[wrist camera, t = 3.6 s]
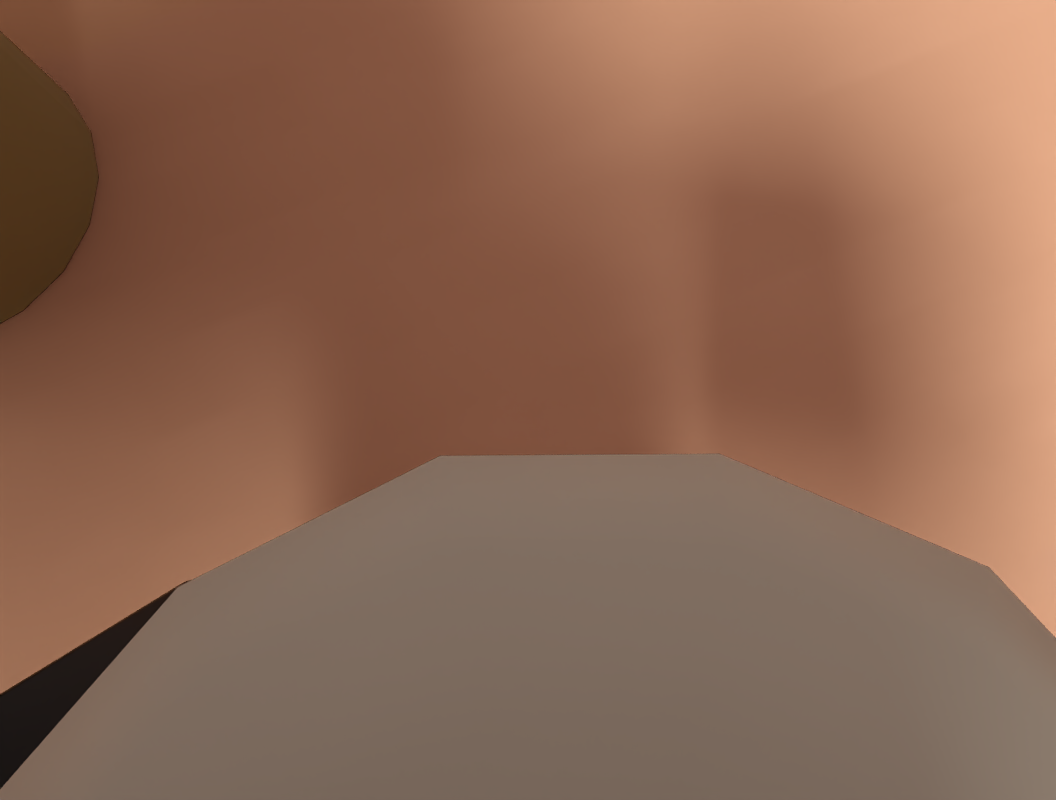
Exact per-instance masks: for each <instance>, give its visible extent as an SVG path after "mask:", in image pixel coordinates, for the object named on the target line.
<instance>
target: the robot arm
mask: <svg viewBox="0 0 1056 800" xmlns="http://www.w3.org/2000/svg"><path fill="white" fill-rule="evenodd" d="M189 581H191V580H189ZM189 581H186V582H184V583H182V584H180V585H178V586H177V587H179V586H181V585H183V584H185V583H187V582H189ZM177 587H175V588H173V589H172V590H170V591H168V592H167V593H165V594H164V595H162V596H160V597H159V598H157V599H155V600H154V601H152V602H150V603H149V604H147V605H146V606H144V607H142V608H141V609H139V610H137V611H136V612H134V613H132V614H131V615H129V616H128V617H126V618H124V619H123V620H121V621H119V622H118V623H116V624H114V625H113V626H111V627H109V628H108V629H106V630H105V631H103V632H101V633H100V634H98V635H96V636H95V637H93V638H91V639H90V640H88V641H87V642H85V643H83V644H82V645H80V646H78V647H77V648H75V649H73V650H72V651H70V652H69V653H67V654H65V655H64V656H62V657H60V658H59V659H57V660H55V661H54V662H52V663H50V664H49V665H47V666H46V667H44V668H42V669H41V670H39V671H37V672H36V673H34V674H32V675H31V676H29V677H28V678H26V679H24V680H23V681H21V682H19V683H18V684H16V685H14V686H13V687H11V688H10V689H8V690H6V691H5V692H3V693H1V694H0V789H1V788H2V787H3V786H4V785H5V783H6V782H7V781H8V780H9V779H10V778H11V777H12V775H13V774H14V773H15V772H16V771H17V770H18V769H19V767H20V766H21V765H22V764H23V763H24V762H25V761H26V759H27V758H28V757H29V756H30V755H31V754H32V753H33V751H34V750H35V749H36V748H37V747H38V746H39V745H40V744H41V742H42V741H43V740H44V739H45V738H46V737H47V736H48V734H49V733H50V732H51V731H52V730H53V729H54V728H55V726H56V725H57V724H58V723H59V722H60V721H61V720H62V718H63V717H64V716H65V715H66V714H67V713H68V712H69V710H70V709H71V708H72V707H73V706H74V705H75V704H76V702H77V701H78V700H79V699H80V698H81V697H82V696H83V695H84V693H85V692H86V691H87V690H88V689H89V688H90V687H91V685H92V684H93V683H94V682H95V681H96V680H97V679H98V677H99V676H100V675H101V674H102V673H103V672H104V671H105V669H106V668H107V667H108V666H109V665H110V664H111V663H112V661H113V660H114V659H115V658H116V657H117V656H118V655H119V653H120V652H121V651H122V650H123V649H124V648H125V647H126V646H127V644H128V643H129V642H130V641H131V640H132V639H133V638H134V636H135V635H136V634H137V633H138V632H139V631H140V630H141V628H142V627H143V626H144V625H145V624H146V623H147V622H148V620H149V619H150V618H151V617H152V616H153V615H154V614H155V612H156V611H157V610H158V609H159V608H160V607H161V606H162V604H163V603H164V602H165V601H166V600H167V599H168V598H169V597H170V595H171V594H172V593H173V592H174V591H175V590H176V589H177Z"/></svg>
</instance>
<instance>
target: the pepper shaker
mask: <svg viewBox="0 0 1056 800" xmlns="http://www.w3.org/2000/svg"><path fill="white" fill-rule="evenodd" d="M98 178H99V177H98V171H97V165H96V159H95V153H94V147H93V141H92V135H91V132H90V130H89V128H88V127H87V125H86V123H85V122H84V120H83V118H82V117H81V115H80V113H79V112H78V110H77V108H76V107H75V105H74V104H73V102H72V100H71V99H70V97H69V95H68V94H67V93H66V92H65V91H64V90H63V89H62V88H60V87H59V86H58V85H57V84H56V83H55V82H54V81H53V80H52V79H51V78H50V77H49V76H48V75H47V74H46V73H44V72H43V71H42V70H41V69H40V68H39V67H38V66H37V65H36V64H35V63H34V62H33V61H32V60H31V59H30V58H28V57H27V56H26V55H25V54H24V53H23V52H22V51H21V50H20V49H19V48H18V47H17V46H16V45H15V44H14V43H12V42H11V41H10V40H9V39H8V38H7V37H6V36H5V35H4V34H3V33H2V32H1V31H0V323H1V322H3V321H5V320H7V319H9V318H10V317H12V316H14V315H16V314H18V313H19V312H21V311H23V310H24V309H25V308H26V307H27V306H28V305H29V304H30V303H31V302H32V301H33V300H34V299H35V298H36V297H37V296H38V295H39V294H40V293H41V292H43V291H44V290H45V289H46V288H47V287H48V286H49V285H50V284H51V283H52V282H53V281H54V280H55V279H56V278H57V277H58V276H59V275H60V274H61V273H62V272H63V271H64V269H65V267H66V266H67V264H68V262H69V260H70V259H71V257H72V255H73V253H74V251H75V250H76V248H77V246H78V244H79V242H80V241H81V239H82V237H83V235H84V234H85V232H86V230H87V228H88V226H89V224H90V219H91V214H92V209H93V203H94V198H95V193H96V188H97V183H98Z"/></svg>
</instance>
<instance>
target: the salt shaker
mask: <svg viewBox="0 0 1056 800" xmlns="http://www.w3.org/2000/svg"><path fill="white" fill-rule="evenodd" d="M0 800H1056V638H1055V637H1054V636H1053V635H1052V634H1051V633H1050V632H1049V630H1048V629H1047V628H1046V627H1045V626H1044V625H1043V624H1042V623H1041V622H1040V621H1039V620H1038V619H1037V618H1036V617H1035V616H1034V615H1033V613H1032V612H1031V611H1030V610H1029V609H1028V608H1027V607H1026V606H1025V605H1024V604H1023V603H1022V602H1021V601H1020V600H1019V599H1018V597H1017V596H1016V595H1015V594H1014V593H1013V592H1012V591H1011V590H1010V589H1009V588H1008V587H1007V586H1006V585H1005V584H1004V583H1003V582H1002V580H1001V579H1000V578H999V577H998V576H997V575H996V574H995V573H994V572H993V571H992V570H991V569H990V568H989V567H987V566H985V565H982V564H980V563H978V562H975V561H973V560H971V559H968V558H966V557H964V556H961V555H959V554H956V553H954V552H952V551H949V550H947V549H945V548H942V547H940V546H937V545H935V544H933V543H930V542H928V541H926V540H923V539H921V538H918V537H916V536H914V535H911V534H909V533H907V532H904V531H902V530H899V529H897V528H895V527H892V526H890V525H888V524H885V523H883V522H880V521H878V520H876V519H873V518H871V517H869V516H866V515H864V514H861V513H859V512H857V511H854V510H852V509H850V508H847V507H845V506H842V505H840V504H838V503H835V502H833V501H831V500H828V499H826V498H823V497H821V496H819V495H816V494H814V493H812V492H809V491H807V490H804V489H802V488H800V487H797V486H795V485H793V484H790V483H788V482H786V481H783V480H781V479H778V478H776V477H774V476H771V475H769V474H767V473H764V472H762V471H759V470H757V469H755V468H752V467H750V466H748V465H745V464H743V463H740V462H738V461H736V460H733V459H731V458H729V457H726V456H724V455H721V454H608V455H473V456H439V457H437V458H435V459H433V460H431V461H429V462H427V463H425V464H423V465H421V466H419V467H417V468H415V469H413V470H411V471H409V472H407V473H405V474H403V475H401V476H399V477H397V478H395V479H393V480H391V481H389V482H387V483H385V484H383V485H381V486H379V487H377V488H375V489H373V490H371V491H369V492H367V493H365V494H363V495H361V496H359V497H357V498H355V499H353V500H351V501H349V502H347V503H345V504H343V505H341V506H339V507H337V508H335V509H333V510H331V511H329V512H327V513H325V514H323V515H321V516H319V517H317V518H315V519H313V520H311V521H309V522H307V523H305V524H303V525H301V526H299V527H297V528H295V529H293V530H291V531H289V532H287V533H285V534H283V535H281V536H279V537H277V538H275V539H273V540H271V541H269V542H267V543H265V544H263V545H261V546H259V547H257V548H255V549H253V550H251V551H249V552H247V553H245V554H243V555H241V556H239V557H237V558H235V559H233V560H231V561H229V562H227V563H225V564H223V565H221V566H219V567H217V568H215V569H213V570H211V571H209V572H207V573H205V574H203V575H201V576H199V577H197V578H195V579H193V580H191V581H189V582H187V583H185V584H183V585H181V586H179V587H177V589H176V590H175V591H174V592H173V593H172V594H171V595H170V597H169V598H168V599H167V600H166V601H165V602H164V603H163V604H162V606H161V607H160V608H159V609H158V610H157V611H156V612H155V614H154V615H153V616H152V617H151V618H150V619H149V620H148V622H147V623H146V624H145V625H144V626H143V627H142V628H141V630H140V631H139V632H138V633H137V634H136V635H135V636H134V638H133V639H132V640H131V641H130V642H129V643H128V644H127V646H126V647H125V648H124V649H123V650H122V651H121V652H120V653H119V655H118V656H117V657H116V658H115V659H114V660H113V661H112V663H111V664H110V665H109V666H108V667H107V668H106V669H105V671H104V672H103V673H102V674H101V675H100V676H99V677H98V679H97V680H96V681H95V682H94V683H93V684H92V685H91V687H90V688H89V689H88V690H87V691H86V692H85V693H84V695H83V696H82V697H81V698H80V699H79V700H78V701H77V702H76V704H75V705H74V706H73V707H72V708H71V709H70V710H69V712H68V713H67V714H66V715H65V716H64V717H63V718H62V720H61V721H60V722H59V723H58V724H57V725H56V726H55V728H54V729H53V730H52V731H51V732H50V733H49V734H48V736H47V737H46V738H45V739H44V740H43V741H42V742H41V744H40V745H39V746H38V747H37V748H36V749H35V750H34V751H33V753H32V754H31V755H30V756H29V757H28V758H27V759H26V761H25V762H24V763H23V764H22V765H21V766H20V767H19V769H18V770H17V771H16V772H15V773H14V774H13V775H12V777H11V778H10V779H9V780H8V781H7V782H6V783H5V785H4V786H3V787H2V788H1V789H0Z"/></svg>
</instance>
